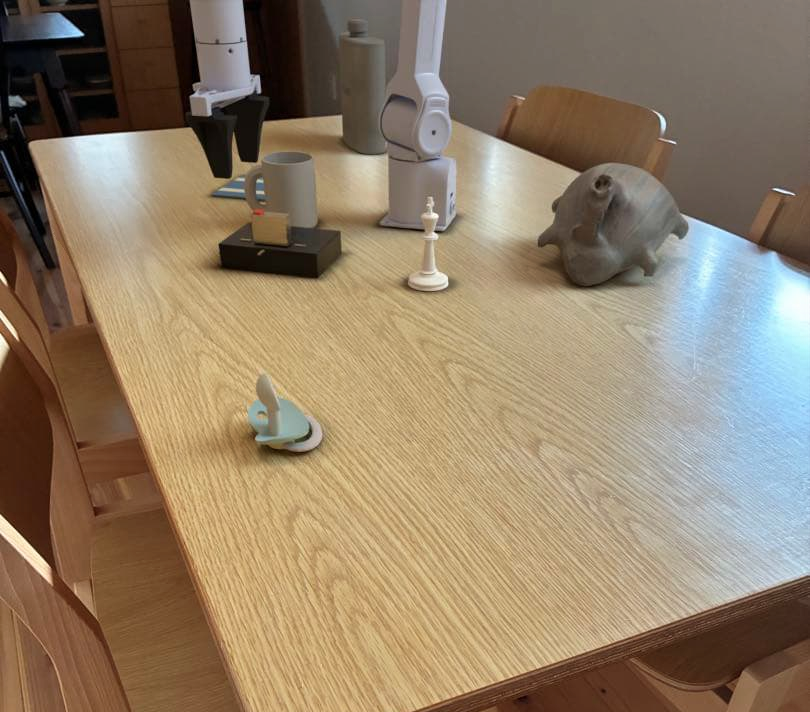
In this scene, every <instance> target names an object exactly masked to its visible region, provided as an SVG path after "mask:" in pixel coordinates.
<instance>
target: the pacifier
mask: <svg viewBox="0 0 810 712" xmlns="http://www.w3.org/2000/svg"><path fill="white" fill-rule="evenodd" d="M255 391H256V395H257V399H255V400H254V401H253V402H252V403H251V404H250V405H249V408H248V409H247V410H248V411H247V420H248V422H249V425H250V427H251V428H252V429H253V430H254V431H255V432H256V433H258V434H256V436H255V438H254V440H255V443H256V444H258V445H268V446H269V447H270V448H272V449H275V450H287V451H291V452H298V453H300V452H308V451H311V450H313V449H314V448H316V447H317V446H318V445H319V444H320V443H321V441H322V439H323V430H322V427H321V425H320V424H319V422H318V420H316V419H315V418H314V417H313V416H310V415H309V414H306V413H303V411H302V410H301V409H300V408H299V407H298V406H297V405H296V404H294V403H293V402H291V401H290V400H289V399H286V398H284V397H279V396H278V395H277V393H276V390H275V388H274V385H273V383H272V380H271V379H270V377H269V376H268V374H267V373H266V372H265V373H262V374H260V375H259V376H258V378H257V380H256V384H255ZM259 415H264V416H265V418H259V417H258V416H259ZM309 431H311V433H312V434H311V435H310V437H309V438H308V439H307V440H305V441H302V442H301V441H300V442H295V440H298V439H301V438H303V437H305V436H306V435H308V433H309Z"/></svg>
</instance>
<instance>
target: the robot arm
mask: <svg viewBox="0 0 810 712" xmlns="http://www.w3.org/2000/svg"><path fill="white" fill-rule="evenodd" d="M447 2H448V1H447V0H402V9H401V21H400V31H399V32H400V33H399V44H398V59H397V70H396V73H395V74H394V75H393V77H392V78H391V79H390V81H389V82H387V85H386V87H385V101H384V104H383V106H382V108H381V110H380V113H379V117H378V127H379V131H380V134H381V136H382V137H383V139H384V140H385V141H386V151H387V160H388V161H387V163H388V165H387V166H388V171H387V172H388V173H387V174H388V177H387V178H388V179H387V181H388V213H387V214H386V215H385V216H384V217H383V218H382V219H381V220H380V221H379V225H380V226H382V227H393V228H403V229H414V230H424V231H425V229H424V225H423V222H422V219H421V215H422V214H424V213H427V212H428V209H426V205H427V204H428V197H433V202H434V206H433V207H432V212H433V213H436V214H437V215H438V216H439V217H438V221H437V223H436V227H435V230H434V232H436V231H437V232H444V231H446V230H447V228H448V227H449V225H450V224H451V223H452V221H453V220H454V219H455V217H456V215H457V212H456V197H457V176H458V175H457V173H458V171H457V161H456V159H455V158H454V157H450V156H444V155H443V152H444V151H445V150H446V148H447V147H448V145H449V143H450V140H451V138H452V132H453V131H452V130H453V129H452V127H453V126H452V120H451V116H450V110H449V105H450V95H449V93H448V91H447V89H446V88H445V86H444V84H443V82H442V80H441V78H440V70H441V69H440V67H441V58H442V50H443V49H442V48H443V39H444V30H445V20H446V10H447ZM189 5H190V12H191V19H192V28H193V34H194V42H195V48H196V55H197V56H196V57H197V64H198V71H199V78H200V81H199V82H195V83H193V84H192V90H193V92H194V93H193V94H191V95H189V102H190V110H189V111H187V112H185V118H186V124H188V126H189V127H190V128H191V130H192V132H193V133H194V134H195V136H196V138H197V140H198V141H199V144H200V145H201V148H202V150H203V153H204V155H205V157H206V160H207V164H208V165H209V168H210V171H211V174H212V175H213V178H214V179H224V180H225V179H226V180H230V179H232V177H233V170H234V169H233V167H234V166H233V141H234V140H235V145H236V150H237V154H238V158H239V160H240V162H241V163H251V164H256V163H258V161H259V156H260V146H261V138H262V130H263V125H264V121H265V118H266V114H267V111H268V109H269V107H270V97H269V96H263V95H259V94H261V93H262V87H261V77H260V76H261V75H260V74H251V69H250V59H249V49H248V41H247V31H246V23H245V12H244V2H243V0H189ZM222 108H224V109H225V111H226V114H224V112H223V111H222V110H221V109H222ZM233 138H234V139H233Z"/></svg>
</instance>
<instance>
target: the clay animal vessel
mask: <svg viewBox="0 0 810 712" xmlns="http://www.w3.org/2000/svg"><path fill="white" fill-rule="evenodd" d="M551 211H552V213H553V214H554V218H553V221H552V223H551V224H550V225H549V227H547V228H546V229H545V230H544V231H542V232H541V233H540V234H539V236H538V238H537V248H544V247H546V246H549V245H551V246H556V247H557V249H558V251H559V252H560V254H561V255H562V258H563V266H564V268H565V271H566V273H567V275H568V277H569V279H570V280H571V281H572V282H574V283H575V285H578V286H582V287H589V286H594V285H598V284H601V283H605V282H606V281H608V280H610V279H611V278H612V277H614V276H615V275H617V274H620V273H622V272H626V271H628V270H629V269H633V268H634V267H636V266H637V267H640V268H641V269H642V270H643V277H644V278H646V277H654V275H655V274H656V273H657V272H658V270H659V268H660V262H659V259H658V256H657V254H656V252H657V251H659V250H660V248H661V247H662V246H663V244H664V243H665V242H666V240H667V239H668V237H669V236H670V235H675V236H676V237H677V238H678V240H681V241H682V240H683V239H684V238H685V237H686V236H687V234H688V232H689V230H690V226H689V223H688V221H687V220H686V219H685V218H684V216H683V215H682V213H681V212H680V210H679V207H678V204H677V202H676V200H675V199H674V197H673V196H672V194H671V193H670V191H669V190H668V189H667V188H666V186H664V184H662V183H661V181H659V179H657V178H656V177H654V175H652V174H651V173H650V172H648V171H647V170H644V169H643V168H640V167H638V166H635V165H631V164H626V163H618V162H605V163H601V164H598V165H595V166H593V167H590V168H588V169H586V170H585V171H583V172H581V173H580V174H579V175H578V176H577V177H575V178H574V179H573V181H571V183H570V184H569V185H568V186H567V187H566V188H565V190H564V192H563V193H562V195H560V196H559V197H557V198H555V199H554V200H553V202H552V204H551Z"/></svg>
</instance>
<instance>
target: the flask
mask: <svg viewBox="0 0 810 712" xmlns="http://www.w3.org/2000/svg"><path fill="white" fill-rule="evenodd" d="M346 25H347V31H342V32H340V33H339V34H338V52H339V54H338V55H339V75H340V77H339V78H340V79H339V80H340V99H341V100H340V101H341V122H342V123H341V124H342V125H341V126H342V127H341V128H342V140H343V142H344V144H345V145H346V146H348V148H350V149H351V150H354V151H355V152H358V153H361V154H364V155H379V154H384V153H385V152H386V151H387V142H386V141H385V140H384V139H383V137H382V136H381V134H380V131H379V127H378V117H379V113H380V110H381V108H382V106H383V104H384V101H385V97H386V42H385V41H384V40H383V39H382V38H378V37H374V36H370V35H369V34H367V32H368V31H369V22H368V21H367V20H366V19H363V18H354V19H349V20H348V21H347V24H346Z"/></svg>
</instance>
